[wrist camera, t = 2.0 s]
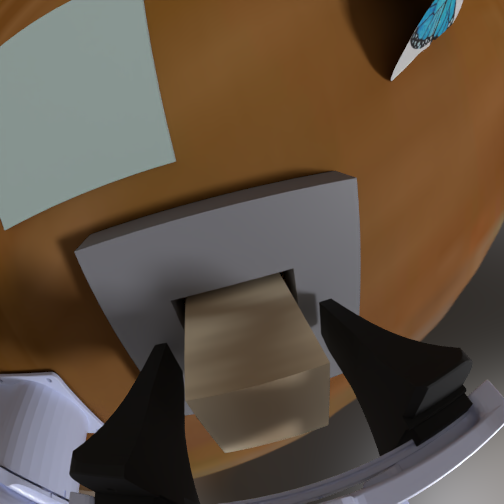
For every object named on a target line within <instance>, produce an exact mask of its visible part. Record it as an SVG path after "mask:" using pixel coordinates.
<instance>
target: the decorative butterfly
mask: <svg viewBox="0 0 504 504" xmlns="http://www.w3.org/2000/svg"><path fill="white" fill-rule="evenodd" d="M462 2H463V0H434V2H433V3H432V4H431V6H430V7H429V9H428V10H427V12H426V13H425V15H424V16H423V18H422V20H421V21H420V23H419V24H418V26H417V28H416V30H415V31H414V33H413V35H412V37H411V39H410V40H409V42H408V44H407V46H406V48H405V50H404V52H403V53H402V55H401V57H400V59H399V61H398V63H397V65H396V67H395V69H394V71H393V74H392V77H391V81H392V80H393V79H394V78H395V77H396V76H398V75H399V74H400V73H401V72H402V71H403V70H404V69H405V68H406V67H407V66H408V65H409V64H410V63H411V62H412V61H413V60H414V58H415V57H416V56H417V55H418V54H419V53H420V52H421V51H423V50H424V49H426V48H427V47H428V46H429V45H430V44H431V42H432V40H433V38H434V40H435V39H436V38H438V37H439V36H440V35H441V34H442V33H443V32H444V31H445V30H446V29H448V28H449V27H450V26H451V25H452V24H453V22H454V20H455V18H456V17H457V14H458V12H459V10H460V8H461V5H462Z"/></svg>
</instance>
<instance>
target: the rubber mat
mask: <svg viewBox="0 0 504 504" xmlns="http://www.w3.org/2000/svg"><path fill="white" fill-rule="evenodd" d="M175 161H176V159H175V155H174V151H173V147H172V143H171V139H170V134H169V130H168V126H167V122H166V117H165V113H164V108H163V104H162V99H161V95H160V90H159V85H158V80H157V75H156V70H155V65H154V60H153V55H152V49H151V44H150V38H149V32H148V26H147V20H146V14H145V7H144V0H71V1H70V2H68V3H66V4H64V5H62V6H60V7H58V8H56V9H55V10H53V11H51V12H50V13H48V14H46V15H44V16H43V17H41V18H40V19H38V20H36V21H35V22H33V23H32V24H30V25H29V26H27V27H26V28H24V29H23V30H22V31H20V32H19V33H17V34H16V35H15V36H13V37H12V38H11V39H9V40H8V41H7V42H5V43H4V44H3V45H2V46H0V218H1V221H2V224H3V227H4V230H7V229H9V228H10V227H12V226H14V225H16V224H18V223H20V222H22V221H24V220H26V219H28V218H30V217H32V216H34V215H36V214H38V213H40V212H42V211H44V210H46V209H48V208H50V207H53V206H55V205H57V204H59V203H61V202H64V201H66V200H68V199H71V198H73V197H75V196H78V195H80V194H83V193H85V192H88V191H90V190H93V189H95V188H98V187H100V186H103V185H106V184H108V183H111V182H114V181H116V180H119V179H122V178H125V177H128V176H131V175H134V174H137V173H140V172H143V171H146V170H149V169H152V168H155V167H158V166H162V165H165V164H168V163H172V162H175Z"/></svg>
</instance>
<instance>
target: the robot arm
mask: <svg viewBox="0 0 504 504" xmlns="http://www.w3.org/2000/svg"><path fill="white" fill-rule="evenodd" d="M319 308H320V324H321V335H322V337H323V339H324V342H325V344H326V346H327V348H328V350H329V352H330V354H331V355H332V357H333V358H334V360H335V362H336V363H337V365H338V366H339V368H340V369H341V371H342V373H343V374H344V376H345V377H346V379H347V380H348V382H349V384H350V385H351V387H352V389H353V391H354V393H355V395H356V397H357V399H358V401H359V403H360V405H361V408H362V410H363V412H364V414H365V417H366V419H367V422H368V424H369V427H370V429H371V432H372V434H373V437H374V440H375V443H376V445H377V448H378V451H379V454H380V457H378V458H376V459H374V460H372V461H370V462H368V463H365V464H363V465H361V466H359V467H356V468H354V469H352V470H349V471H347V472H344V473H342V474H339V475H336V476H334V477H331V478H328V479H326V480H322V481H320V482H317V483H313V484H310V485H307V486H304V487H300V488H297V489H293V490H289V491H286V492H282V493H278V494H273V495H269V496H264V497H259V498H254V499H248V500H242V501H235V502H229V503H220V504H305V503H308V502H311V501H315V500H317V499H321V498H324V497H327V496H329V495H332V494H335V493H338V492H340V491H343V490H346V489H348V488H351V487H353V486H356V485H358V484H360V483H362V482H364V484H363V486H364V487H363V488H362V489H361V490H358V491H356V492H353V493H350V494H347V495H345V496H341V497H338V498H335V499H332V500H329V501H326V502H322V503H320V504H409V502H408V499H410V498H412V497H413V496H415V495H417V494H418V493H420V492H421V491H423V490H425V489H426V488H428V487H429V486H431V485H433V484H434V483H436V482H437V481H438V480H440V479H441V478H443V477H444V476H445V475H447V474H448V473H450V472H451V471H452V470H454V469H455V468H456V467H458V466H459V465H460V464H461V463H463V462H464V461H465V460H466V459H468V458H469V457H470V456H471V455H472V454H474V453H475V452H476V451H477V450H478V449H479V448H480V447H481V446H482V445H484V444H485V443H486V442H487V441H488V440H489V439H490V438H491V437H492V436H493V435H494V434H495V433H496V432H497V431H498V430H499V429H500V428H501V427H502V426H503V425H504V398H503V396H502V395H501V394H500V393H499V392H498V391H497V389H496V388H495V387H494V386H493V385H492V384H491V382H490V381H489V380H486V381H485V382H483V383H482V384H481V385H480V386H479V387H478V388H476V389H475V390H474V391H473V392H472V393H471V394H470V395H469V396H468V397H467V396H466V394H465V392H466V388H465V387H464V386H463V383H464V381H465V380H466V378H467V376H468V374H469V372H470V370H471V368H472V360H471V359H470V358H469V357H468V356H467V355H466V354H465V353H464V352H463V351H462V350H461V349H460V348H453V347H444V346H437V345H432V344H427V343H422V342H418V341H415V340H412V339H408V338H405V337H402V336H399V335H397V334H394V333H392V332H389V331H387V330H385V329H383V328H381V327H379V326H377V325H375V324H373V323H371V322H369V321H367V320H365V319H364V318H362V317H360V316H358V315H357V314H355V313H353V312H352V311H350V310H349V309H347V308H345V307H344V306H342V305H341V304H339V303H338V302H336V301H335V300H333V299H328V300H325V301H321V302H319ZM87 433H95V434H94V435H92V436H91V437H90V438H89V439H88V440H87V441H86V435H87ZM369 479H370V480H369ZM367 480H368V481H367ZM365 481H366V482H365ZM79 484H81V485H83V486H85V487H87V488H89V489H90V490H92V491H94V492H95V497H93V496H90V495H86V494H81V493H79ZM0 504H200V502H199V499H198V495H197V492H196V489H195V485H194V481H193V477H192V473H191V468H190V463H189V458H188V453H187V446H186V439H185V388H184V379H183V371H182V369H181V367H180V366H179V364H178V362H177V360H176V358H175V357H174V355H173V353H172V351H171V349H170V348H169V346H168V344H167V343H162V344H157V345H155V346H154V348H153V349H152V351H151V353H150V355H149V357H148V359H147V361H146V363H145V365H144V366H143V368H142V370H141V372H140V374H139V376H138V378H137V379H136V381H135V383H134V384H133V386H132V388H131V389H130V391H129V393H128V394H127V396H126V397H125V399H124V400H123V402H122V403H121V404H120V406H119V407H118V408H117V410H116V411H115V412H114V413H113V415H112V416H111V417H110V418H109V419H108V420H107V421H106V423H105V424H104V423H103V422H102V421H100V420H99V419H98V418H97V417H96V416H95V415H94V414H93V413H92V412H91V411H90V410H89V409H88V408H87V407H86V406H85V405H84V404H83V403H82V402H81V400H80V399H79V398H78V397H77V396H76V395H75V394H74V393H73V392H72V391H71V390H70V388H69V387H68V386H67V385H66V384H65V383H64V382H63V380H62V379H61V378H60V377H59V376H58V375H57V374H56V373H54V372H42V373H24V374H0Z"/></svg>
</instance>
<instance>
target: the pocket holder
mask: <svg viewBox="0 0 504 504" xmlns="http://www.w3.org/2000/svg"><path fill="white" fill-rule="evenodd" d="M74 252H75V255H76V257H77V259H78V262H79V264H80V266H81V268H82V270H83V273H84V275H85V277H86V279H87V281H88V283H89V285H90V287H91V289H92V291H93V293H94V295H95V297H96V299H97V301H98V303H99V304H100V306H101V308H102V310H103V312H104V314H105V315H106V317H107V319H108V321H109V323H110V324H111V326H112V328H113V329H114V331H115V333H116V334H117V336H118V338H119V339H120V341H121V343H122V344H123V346H124V347H125V349H126V351H127V352H128V354H129V355H130V357H131V358H132V360H133V361H134V363H135V364H136V366H137V367H138V369H139V370H140V372H141V370H142V368H143V366H144V365H145V363H146V361H147V359H148V357H149V355H150V353H151V351H152V349H153V348H154V346H155V345H157V344H162V343H167V344H168V346H169V348H170V349H171V351H172V353H173V355H174V357H175V358H176V360H177V362H178V364H179V366H180V367H181V369H182V371H183V379H184V388H185V365H184V350H185V306H184V303H183V301H182V298H183V297H187V296H191V295H195V294H199V293H203V292H207V291H211V290H215V289H219V288H223V287H226V286H230V285H234V284H238V283H241V282H245V281H249V280H253V279H256V278H260V277H264V276H267V275H271V274H275V273H278V272H282V271H284V273H285V279H286V285H287V287H288V289H289V291H290V292H291V294H292V296H293V298H294V299H295V301H296V303H297V305H298V306H299V308H300V310H301V312H302V314H303V315H304V317H305V319H306V321H307V322H308V324H309V326H310V328H311V330H312V331H313V333H314V335H315V337H316V338H317V340H318V342H319V344H320V346H321V347H322V349H323V351H324V353H325V355H326V356H327V358H328V360H329V362H330V378H331V377H334V376H336V375H339V374H342V371H341V369H340V368H339V366H338V365H337V363H336V362H335V360H334V358H333V357H332V355H331V354H330V352H329V350H328V348H327V346H326V344H325V342H324V339H323V337H322V335H321V324H320V308H319V302H321V301H325V300H328V299H333V300H335V301H336V302H338V303H339V304H341V305H342V306H344V307H345V308H347V309H349V310H350V311H352V312H353V313H355V314H357V315H358V316H359V306H360V223H359V204H358V190H357V178H355V177H352V176H349V175H346V174H343V173H340V172H337V171H331V172H326V173H320V174H315V175H310V176H305V177H300V178H295V179H290V180H285V181H280V182H276V183H271V184H267V185H262V186H258V187H253V188H249V189H245V190H241V191H237V192H233V193H228V194H224V195H221V196H217V197H213V198H209V199H205V200H201V201H198V202H194V203H190V204H187V205H183V206H179V207H176V208H172V209H169V210H165V211H162V212H159V213H155V214H152V215H149V216H145V217H142V218H139V219H136V220H132V221H129V222H126V223H123V224H120V225H117V226H114V227H111V228H108V229H105V230H102V231H99V232H96V233H93V234H90V235H89V236H88V237H87V238H86V239H85V240H84V242H83V243H82V244H81V245H80V246H79V247H78V248H77V249H76V250H75V251H74ZM190 414H194V413H193V411H192V410H191V408H190V407H189V406H188V404H187V403H186V401H185V415H190Z"/></svg>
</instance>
